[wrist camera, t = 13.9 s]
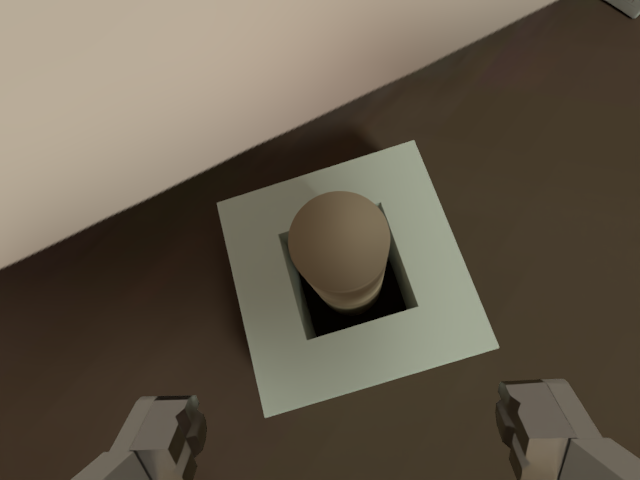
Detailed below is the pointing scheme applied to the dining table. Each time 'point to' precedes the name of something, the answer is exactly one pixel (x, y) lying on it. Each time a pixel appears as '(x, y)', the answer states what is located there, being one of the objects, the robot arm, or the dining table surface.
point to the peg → (341, 249)
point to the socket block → (367, 338)
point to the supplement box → (627, 6)
